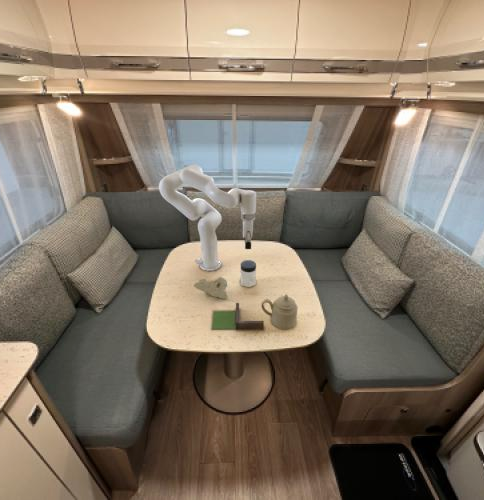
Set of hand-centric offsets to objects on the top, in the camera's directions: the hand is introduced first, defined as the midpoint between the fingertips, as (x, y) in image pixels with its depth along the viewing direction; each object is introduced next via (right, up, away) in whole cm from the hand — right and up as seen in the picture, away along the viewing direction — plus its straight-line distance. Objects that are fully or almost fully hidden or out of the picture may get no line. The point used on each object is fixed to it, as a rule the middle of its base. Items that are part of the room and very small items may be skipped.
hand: (247, 245), depth 145 cm
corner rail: (0, -34, -24) cm, 42 cm away
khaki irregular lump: (-19, -26, -9) cm, 34 cm away
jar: (0, -21, 0) cm, 21 cm away
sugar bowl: (+13, -35, -25) cm, 45 cm away
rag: (-12, -35, -24) cm, 44 cm away
